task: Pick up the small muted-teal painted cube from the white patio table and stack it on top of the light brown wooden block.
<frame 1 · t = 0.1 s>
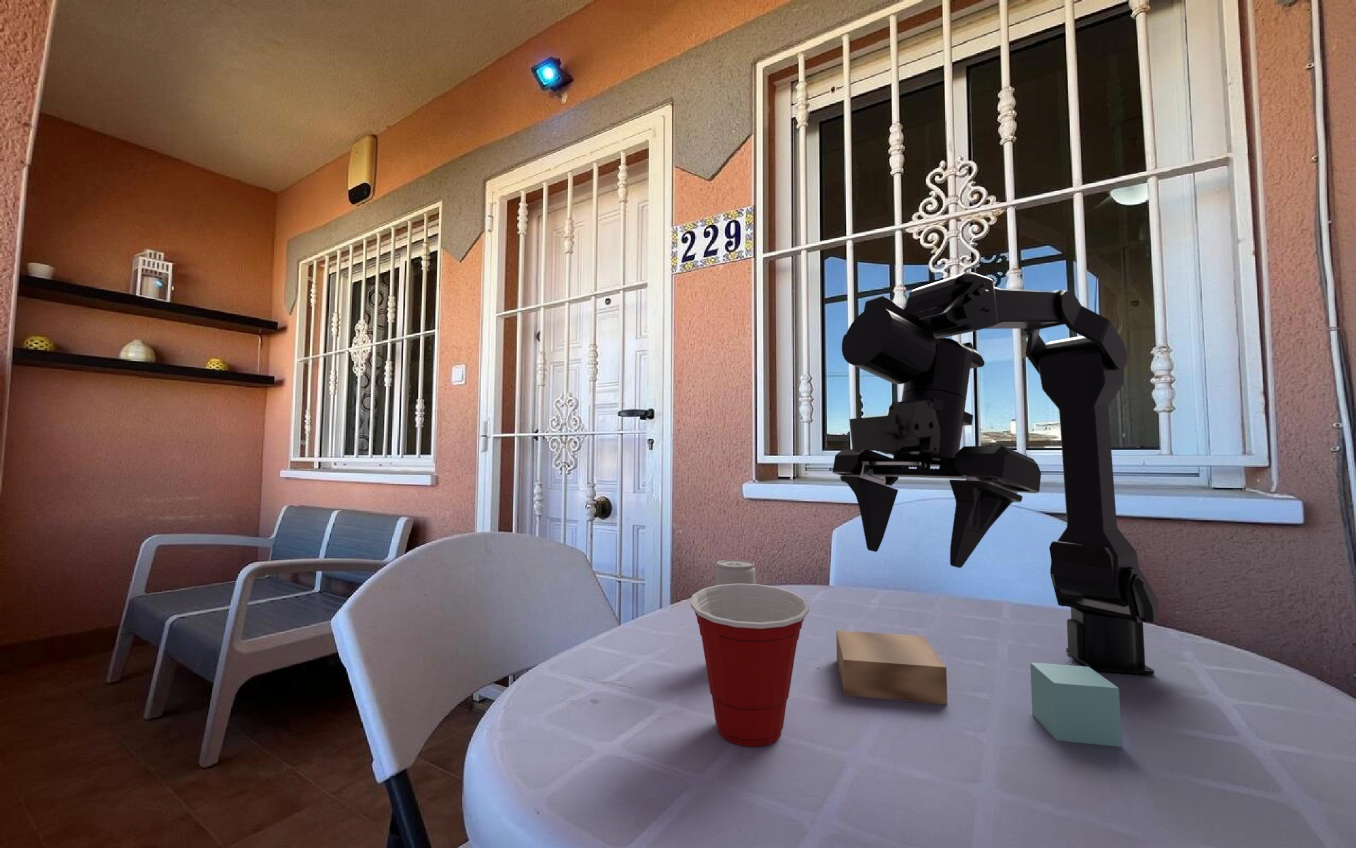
hand: (910, 558, 51), 15 cm above the table, tool pointing down, fingers open, 9 cm apart
light brown wooden block: (886, 683, 61), on the table
teal cube: (1074, 730, 50), on the table
beverage can: (735, 666, 65), on the table
plastic cup: (749, 734, 49), on the table
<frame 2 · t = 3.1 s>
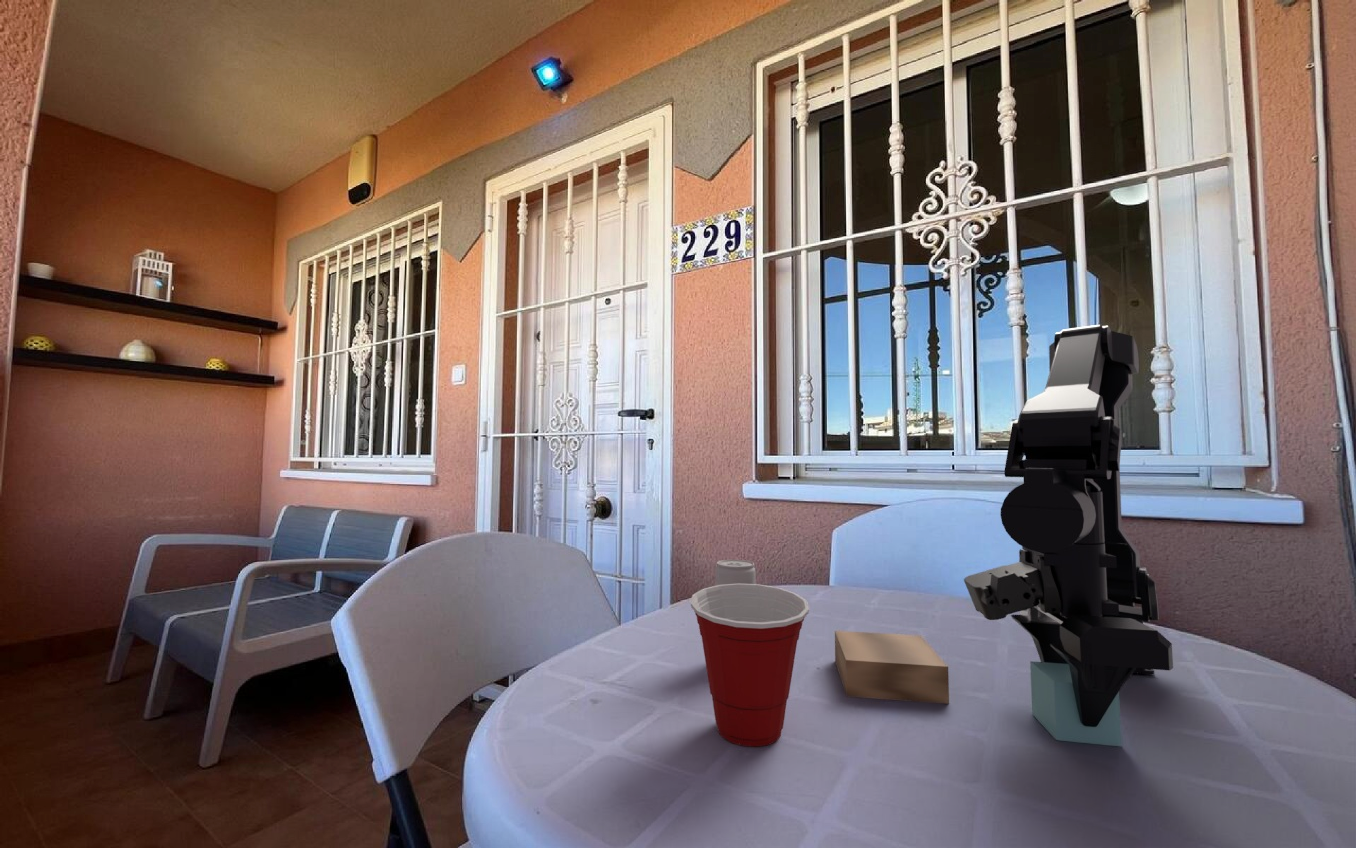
hand: (1073, 712, 50), 2 cm above the table, tool pointing down, fingers closed on teal cube, 5 cm apart
teal cube: (1074, 729, 50), on the table, touching gripper
everything else where it was.
when the fingers open (6 cm above the table, at t = 8.5 s): teal cube drops 1 cm, resting on light brown wooden block.
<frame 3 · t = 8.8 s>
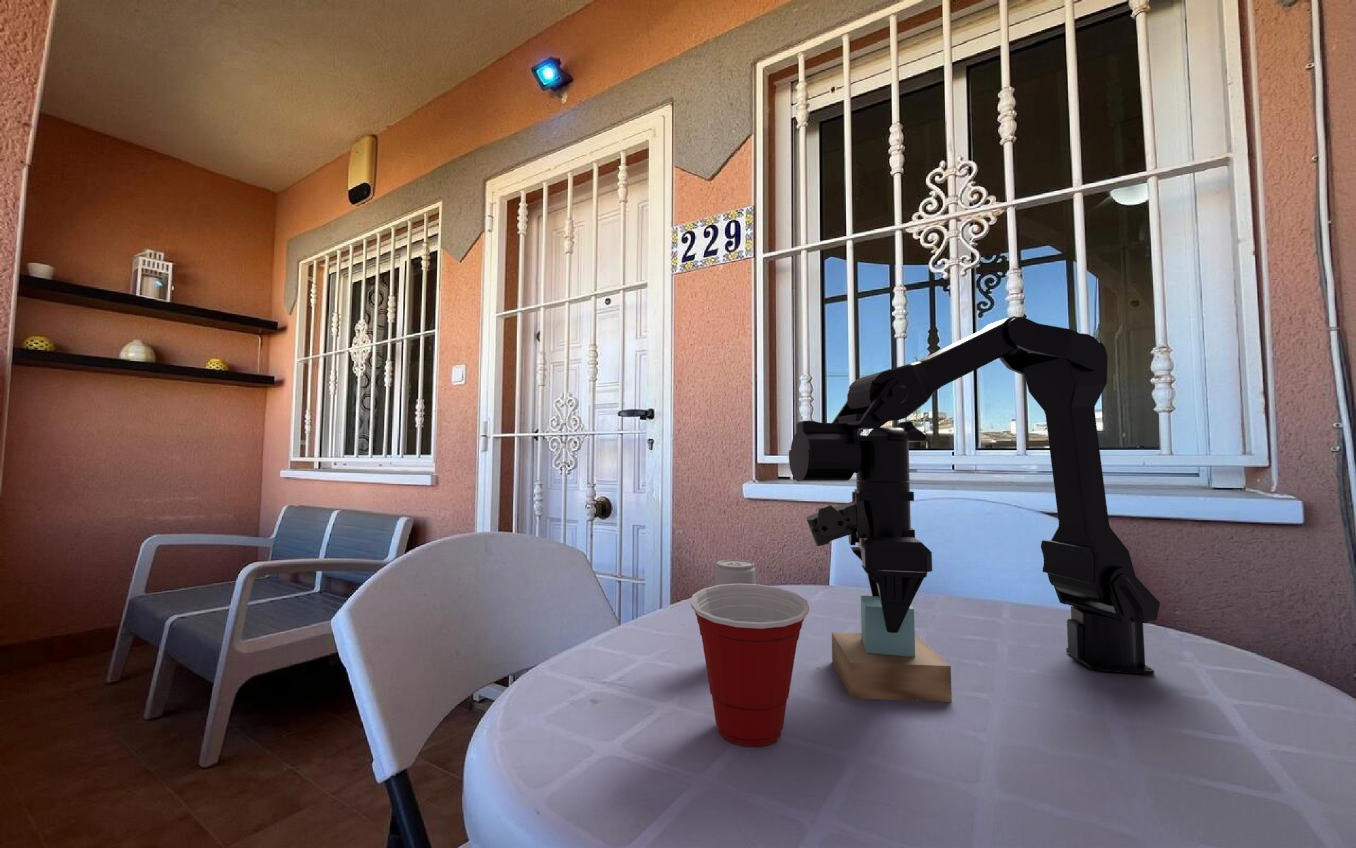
hand: (885, 620, 61), 6 cm above the table, tool pointing down, fingers open, 8 cm apart
light brown wooden block: (886, 684, 61), on the table, touching teal cube
teal cube: (887, 647, 61), point 4 cm above the table, touching light brown wooden block
everything else where it was.
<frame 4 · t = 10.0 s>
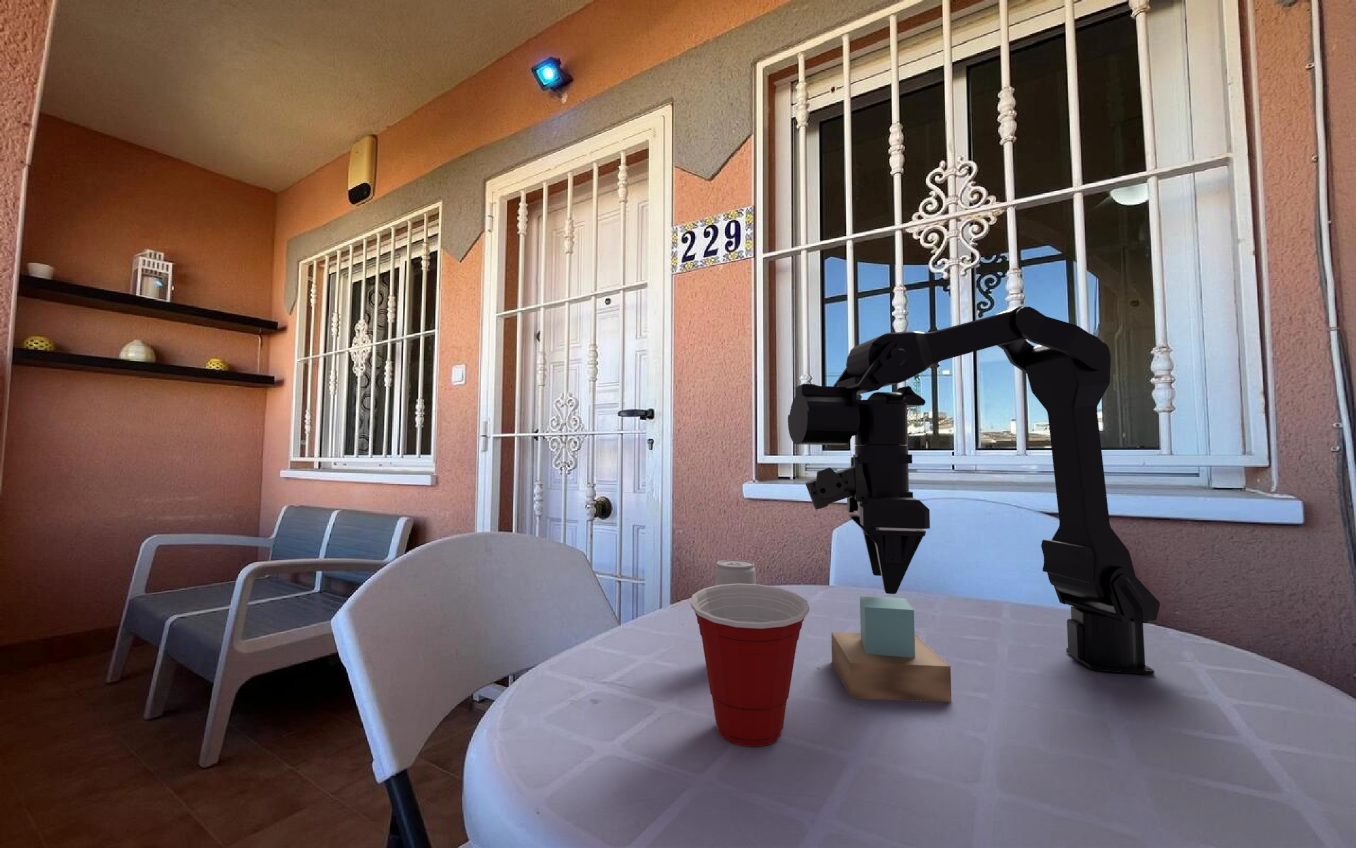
hand: (883, 583, 61), 11 cm above the table, tool pointing down, fingers open, 9 cm apart
nothing on the table moved.
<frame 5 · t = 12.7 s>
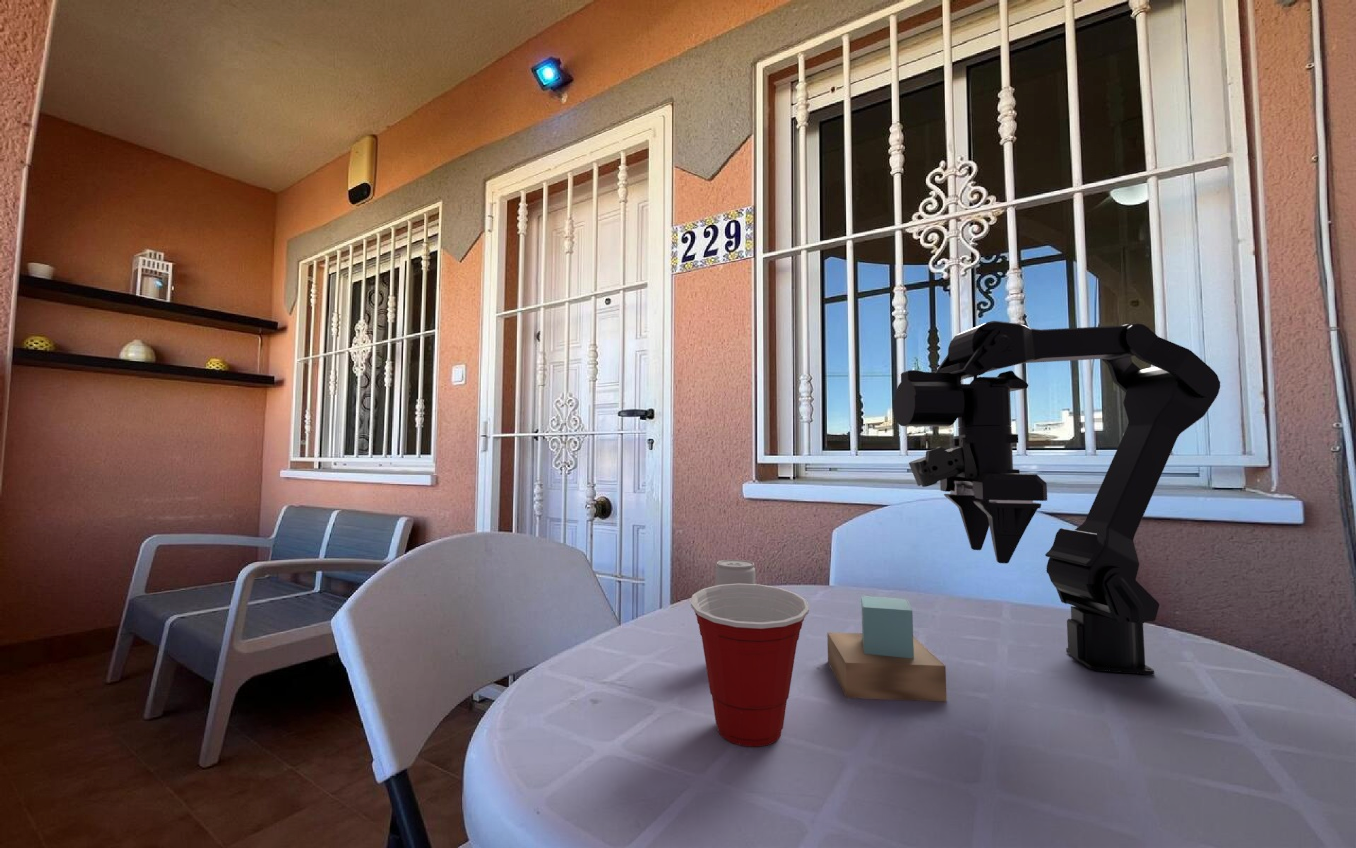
hand: (988, 556, 66), 13 cm above the table, tool pointing down, fingers open, 9 cm apart
light brown wooden block: (882, 684, 61), on the table
teal cube: (886, 648, 61), point 4 cm above the table
everything else where it was.
at the end: teal cube 0.5 cm off-centre on the light brown wooden block, point 4.0 cm above the light brown wooden block's base; teal cube tilted 0°; the gripper is holding nothing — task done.
